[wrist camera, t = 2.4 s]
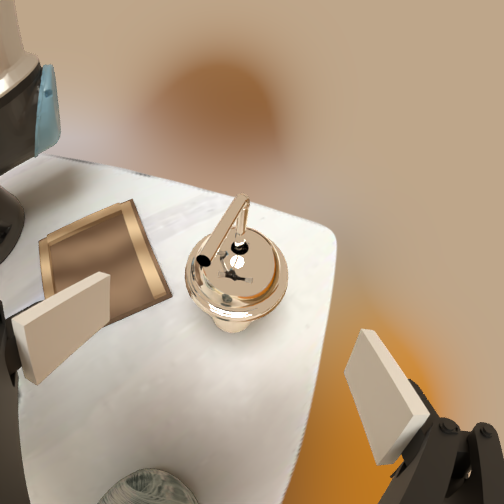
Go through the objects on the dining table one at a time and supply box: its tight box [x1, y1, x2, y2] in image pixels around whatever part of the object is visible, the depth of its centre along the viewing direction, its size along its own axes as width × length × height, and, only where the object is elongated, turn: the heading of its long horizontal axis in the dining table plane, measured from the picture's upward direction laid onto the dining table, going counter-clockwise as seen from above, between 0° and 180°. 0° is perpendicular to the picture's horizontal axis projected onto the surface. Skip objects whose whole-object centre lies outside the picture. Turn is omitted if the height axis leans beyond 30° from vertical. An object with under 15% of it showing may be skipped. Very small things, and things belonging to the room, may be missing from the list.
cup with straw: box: [185, 193, 288, 333], centre depth 23 cm, size 8×9×20 cm
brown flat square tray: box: [39, 199, 172, 327], centre depth 32 cm, size 16×16×2 cm
